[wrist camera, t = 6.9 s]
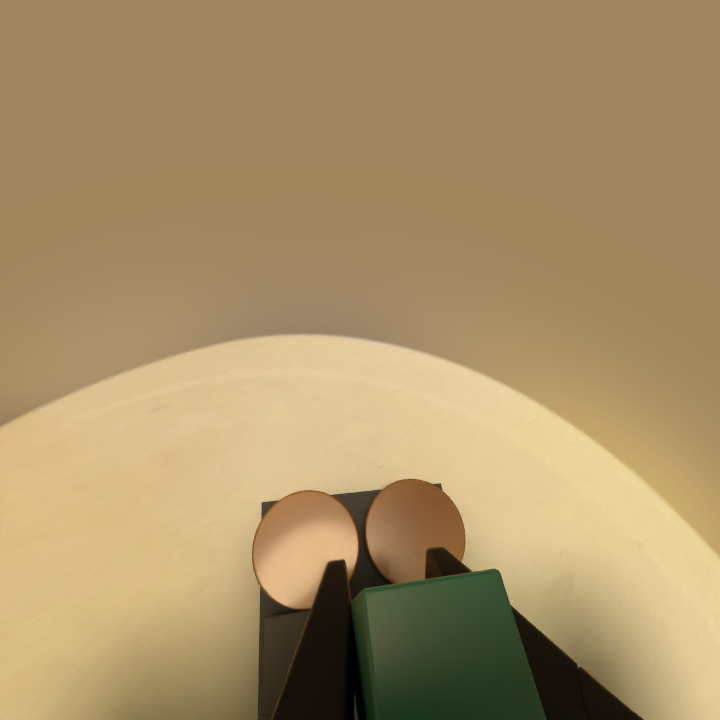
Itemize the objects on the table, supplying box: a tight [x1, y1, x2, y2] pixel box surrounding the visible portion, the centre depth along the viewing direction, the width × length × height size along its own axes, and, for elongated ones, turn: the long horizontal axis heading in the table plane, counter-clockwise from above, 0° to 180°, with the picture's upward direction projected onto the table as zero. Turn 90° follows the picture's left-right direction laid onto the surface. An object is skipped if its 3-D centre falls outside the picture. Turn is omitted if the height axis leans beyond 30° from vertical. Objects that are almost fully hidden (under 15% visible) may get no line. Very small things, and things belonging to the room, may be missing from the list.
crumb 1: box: [252, 490, 359, 611], centre depth 14 cm, size 4×4×1 cm
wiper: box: [261, 569, 546, 720], centre depth 8 cm, size 2×7×10 cm, turn 97°
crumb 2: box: [363, 479, 465, 584], centre depth 14 cm, size 4×4×1 cm
